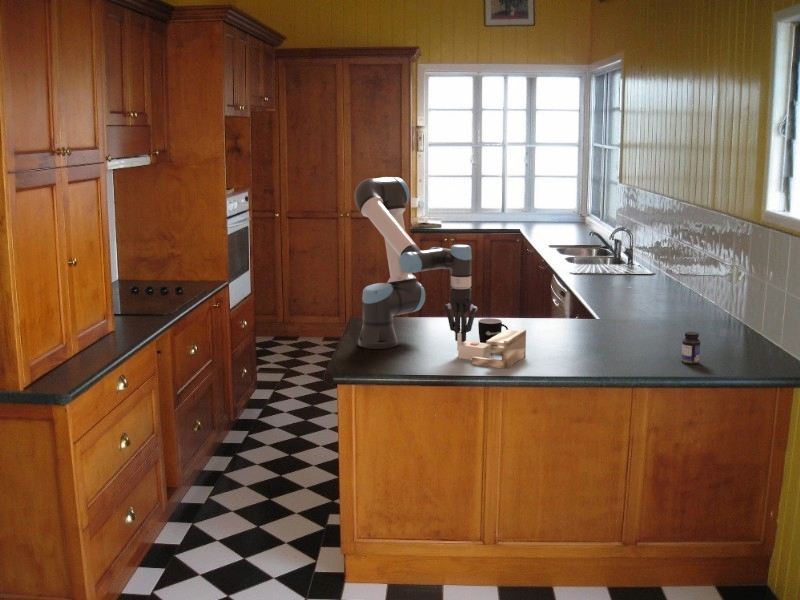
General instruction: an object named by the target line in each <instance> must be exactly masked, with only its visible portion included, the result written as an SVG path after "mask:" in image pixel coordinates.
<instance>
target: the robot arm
mask: <svg viewBox="0 0 800 600" xmlns="http://www.w3.org/2000/svg"><path fill="white" fill-rule="evenodd" d="M410 193H411V192H410V188H409V186H408V185H407V183H406V182H405V180H403V179H402V178H400V177H398V176H397V177H396V176H395V177H394V176H389V177H388V176H385V177H376V178H375V177H374V178H372V177H371V178H366V179H363V180H362V181H361V182H359V184H358V185H357V186H356V188H355V190H354V202H355V203H354V204H355V206H356V208H357V210H358V211H359V212H360V213H361V214H362V216H363V217H366V218H368V219H369V220H370V222H371V223H372V224H373V226H375V228H376V229H377V231H379V234H380V235H382V236H383V238H384V244H385V249H386V250H385V251H386V258H387V261H388V262H387V263H388V268H389V269H388V270H389V276H390V277H389V279H388V280H387V282H379V283H373V284H370V285H367V286H365V287H364V288H363V290H362V297H361V301H362V327H361V331H360V332H359V337H358V346H359V347H361V348H364V349H368V350H369V349H371V350H386V349H391V348H394V347H396V346H398V338H397V333H396V331H395V328H394V323H393V321H394V320H393V319H394V317H395V316H400V315H404V314H405V315H406V314H412V313H413V312H417V311H419V310H420V309H421V308H422V307H423V305H424V304H425V300H426V291H425V288H424V286H423V285H422V284H421V282H419V281H417V277H416V276H415V275H414V274H416V273H418V272H426V271H433V270H438V269H439V270H440V269H443V270H450V299H449V303H447V304H444V305H443V308H444V309H445V311H446V315H447V320H448V326H449V330H450V331H452V332H454V340H455V342H456V344H457V347H456V348H457V351H458V345H459V344H461V343H463V342H465V341H467V333H469V332H471V331H472V328H473V324H474V320H475V316H476V312H477V311H478V309H479V307H478V306H475V305H474V304H473V302H472V288H471V287H472V260H473V256H472V255H473V254H472V248H471V245H467V244H453V245H451V246H450V248H444V247H440V246H437V247H436V246H434V247H433V246H432V247H430V248H429V249H425V250H421V249H420V247H419V246H418V245H417V243H415V242H414V240H413V239H412V237H410V236H409V234H408V233H407V232H406V227H405V220H404V213H405V211H406V205H407V204H408V203H409V199H410ZM453 310H454V312H453ZM469 310H470V312H469V315H468V311H469ZM467 316H468V318H467Z"/></svg>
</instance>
